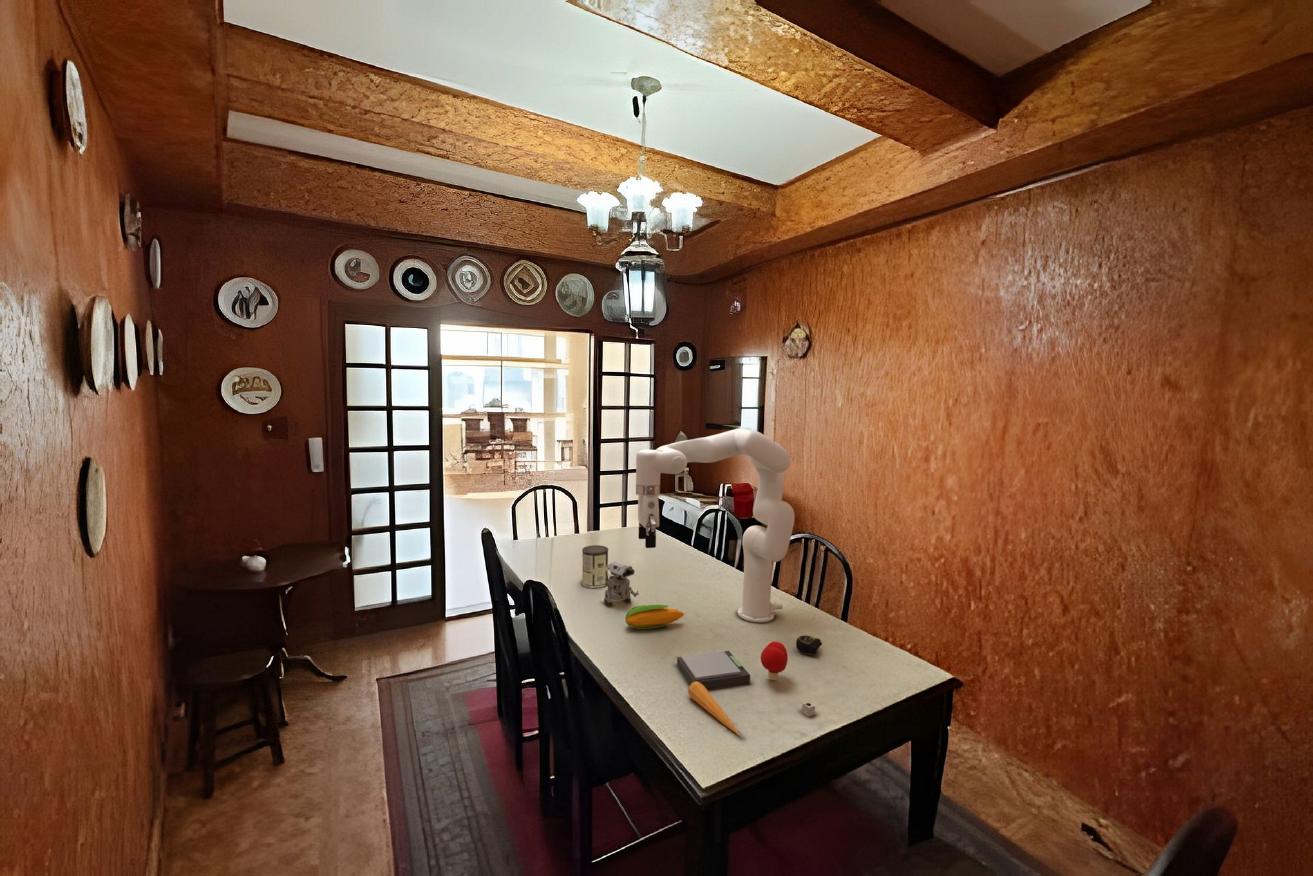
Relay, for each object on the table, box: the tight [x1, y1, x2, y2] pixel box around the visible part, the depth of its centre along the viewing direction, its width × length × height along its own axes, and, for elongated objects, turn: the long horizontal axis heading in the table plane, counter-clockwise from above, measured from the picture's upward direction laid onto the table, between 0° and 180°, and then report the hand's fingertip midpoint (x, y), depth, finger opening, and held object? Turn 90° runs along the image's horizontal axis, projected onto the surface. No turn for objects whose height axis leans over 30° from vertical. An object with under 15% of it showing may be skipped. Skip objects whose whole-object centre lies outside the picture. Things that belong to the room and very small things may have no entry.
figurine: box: [603, 561, 640, 607], centre depth 200 cm, size 9×12×15 cm
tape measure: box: [795, 634, 823, 656], centre depth 169 cm, size 7×7×4 cm
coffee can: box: [581, 544, 609, 589], centre depth 221 cm, size 10×10×14 cm
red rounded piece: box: [760, 641, 789, 682], centre depth 152 cm, size 9×7×10 cm
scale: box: [676, 650, 751, 691], centre depth 154 cm, size 16×14×3 cm
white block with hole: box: [801, 701, 816, 718], centre depth 137 cm, size 2×2×2 cm
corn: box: [625, 604, 685, 630], centre depth 183 cm, size 7×8×20 cm
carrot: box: [687, 681, 742, 738], centre depth 135 cm, size 20×4×4 cm, turn 30°
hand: (646, 543), depth 175 cm, fingers open, 9 cm apart
